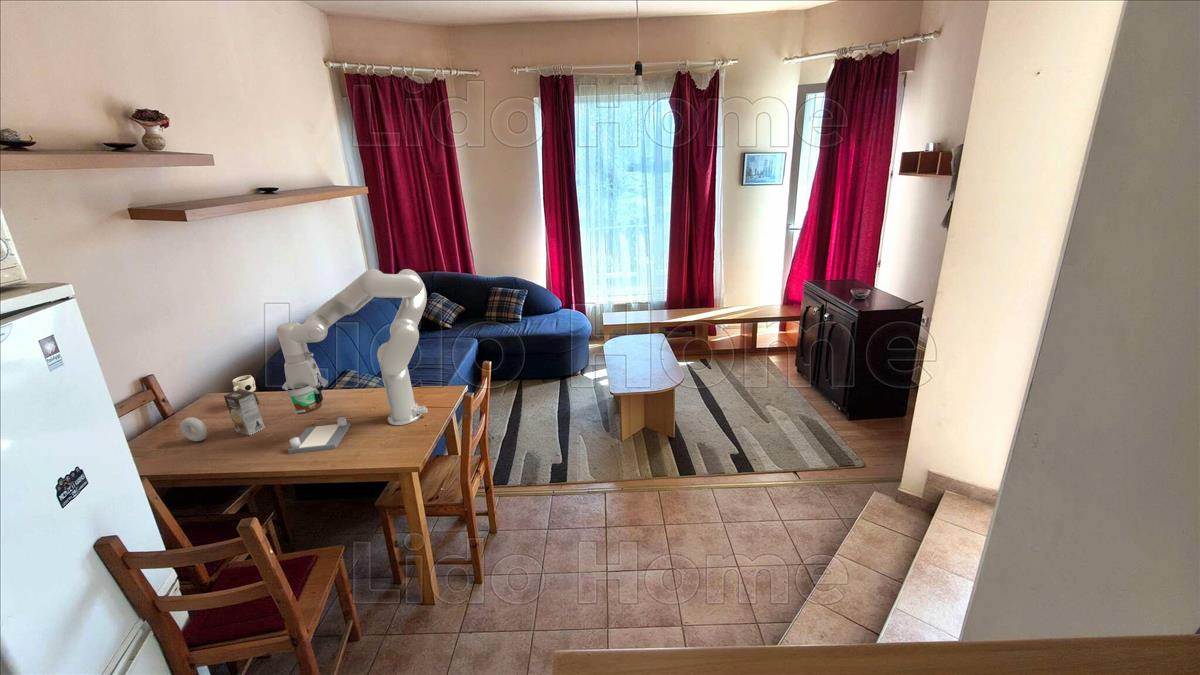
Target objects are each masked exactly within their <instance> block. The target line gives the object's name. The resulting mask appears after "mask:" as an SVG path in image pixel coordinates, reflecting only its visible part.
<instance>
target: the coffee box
mask: <svg viewBox="0 0 1200 675" xmlns="http://www.w3.org/2000/svg"><path fill="white" fill-rule="evenodd" d="M253 392H254V391H253ZM253 392H250V391H246V390H242V389H239V390H236V391H234V390H233V391H232V392H229V393H227V394H225V395H223V398H224V402H225V404H226V406H227V410H228V412H229V415H230V419H231V421H232V423H233V426H234V429H235V432H237V433H239V434H241V435H245V434H246V436H248V435H251V436H252V434H253V435H255V434H257V433H258V431H259V432H261V431H263V430H264V429H263V428H265V429H266V427H265V424H264V422H263V421H264V420H263V417H262V415H261V412H260V409H259V406H258V402H256V399H255V396H254V393H255V392H254V393H253ZM262 429H263V430H262ZM260 430H261V431H260ZM256 432H257V433H256ZM254 433H255V434H254Z"/></svg>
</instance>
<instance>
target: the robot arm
mask: <svg viewBox="0 0 1200 675" xmlns="http://www.w3.org/2000/svg"><path fill="white" fill-rule="evenodd" d="M427 293H428V292H427V290H426V286H425V283H424V282H423V280H422V278H421V277H420V275H419V274H418V273H417V272H416V271H415V270H412V269H410V268H406V269H405V268H404V269H402V270H400V271H399V272H398V273H396V274H395V273H383V272H382V271H381V270H379V269H377V268H370V269H368V270H365V271H364V272H363V273H362V274H360V275H358V277H357V278H355V279H354V280H353V281H352V282H351V283H350V284H348V285H347V286H346V287H345V288H344V289H342V290H341V291H339V293H337V294H336V295H334V296H333V297H331V298H330V299H329V300H327V301H326V302H324V303H323V304H322V305H321V306H319V307H318V308H316V309H315V310H314V311H313V312H312V313H311V314H309V316H307V317H306V319H305V321H304V322H303V323H302V324H301V323H300V322H296V321H290V322H285V323H282V324H279V325H278V326H277V327H276V334H277V337H278V338H277V339H278V341H279V343H280V347H281V351H282V354H283V357H284V358H283V359H284V360H285V362H284V365H283V366H284V375H285V380H286V381H285V382H284V384H283V385H282V386H281V389H283V390H285V391H287V392H288V390H294V389H299V388H305V387H307V386H310V387H314V388H315V390H314V391H315V393H316V394H315V398H316V402H317V404H320V403H321V402H323V399H324V397H323V394H322V393H323V392H322V391H323V389H324V388H325V387H326V385H328V383H329V381H328V380H327V379H326V378H324V377H323V376H322V375H321V371H320V368H319V366H318V365H317V362H316V361H315V359H314V358H313V357H314V353H313V352H310V350H309V348H308V343H310V344H311V343H319V342H322V341H323V340H325V338H327V336H328V332H329V331H328V330H329V328H331V326H333V325H334V324H335V323H336V322H338V321H339V320H340V319H342V318H343V317H345V316H347V315H350V314H351V315H352V314H354V313H356V312H358V311H359V310H361V309H362V308H363V307H365V306H366V304H367V303H369V302H370V301H371V300H372V299H373V298H380V299H382V298H383V299H384V298H387V299H393V298H394V299H395V298H396V299H397V298H398V299H402V300H401V302H400V305H399V308H398V310H397V312H396V314H395V316H394V319H393V320H392V322H391V324H390V328H389V335H390V337H389V339H388V341H386V342H384V343H382V344H381V345H380V346H379V347H378V349H377V353H376V356H377V361H378V365H379V368H380V374H381V378H382V382H383V385H384V389H385V394H386V395H385V396H386V399H387V404H388V407H389V411H390V415H388V416H387V422H388V424H390V425H392V426H403V425H408V424H411V423H414V422H415V421H417V420H418V419H420V418H421V416H422V415H423V414H424V413H425V414H426V413H428V412H429V411H428V407H427V406H426V405H421V406H420V405H419V404H418V403H419V402H415V395H414V392H413V386H412V382H411V377H410V373H409V372H410V371H409V367H408V366H409V363H410V362H411V359H412V357H413V354H414V352H415V350H416V348H417V345H418V343H419V340H420V331H419V329H418V328H419V327H418V326H419V324H420V321H421V319H422V316H423V314H424V311H425V309H426V306H427V299H428V297H427V296H428V294H427ZM318 382H320V385H319V384H318ZM317 385H318V386H319V387H318V388H317V387H316V386H317Z"/></svg>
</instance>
